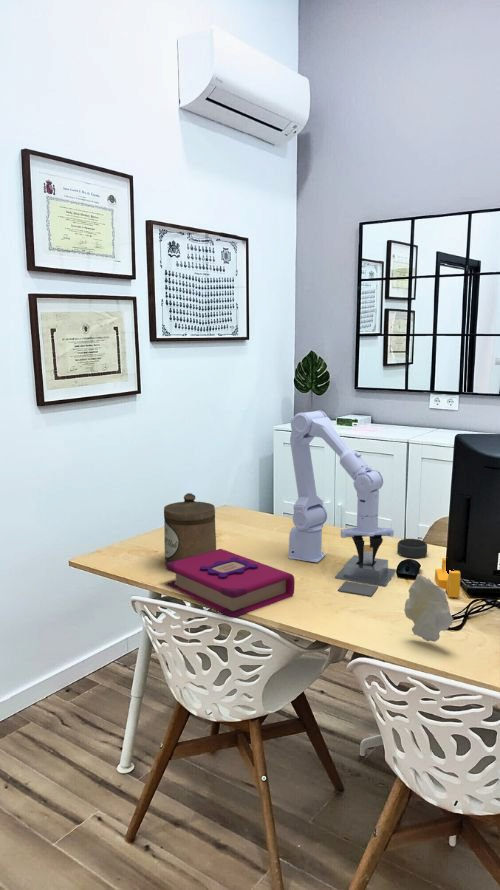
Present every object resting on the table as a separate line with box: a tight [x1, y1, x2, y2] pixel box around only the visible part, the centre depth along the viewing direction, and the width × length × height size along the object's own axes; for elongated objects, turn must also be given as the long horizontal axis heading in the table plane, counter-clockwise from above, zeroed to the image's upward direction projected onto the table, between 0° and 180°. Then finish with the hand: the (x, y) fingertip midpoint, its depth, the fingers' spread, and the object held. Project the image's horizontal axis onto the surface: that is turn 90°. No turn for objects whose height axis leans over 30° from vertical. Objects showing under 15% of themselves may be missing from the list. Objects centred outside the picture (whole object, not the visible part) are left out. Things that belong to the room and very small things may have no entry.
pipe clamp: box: [434, 557, 461, 598], centre depth 172 cm, size 12×4×6 cm, turn 173°
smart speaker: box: [397, 538, 428, 559], centre depth 200 cm, size 9×9×4 cm
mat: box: [337, 580, 379, 598], centre depth 171 cm, size 9×7×1 cm
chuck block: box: [334, 554, 397, 587], centre depth 182 cm, size 14×13×4 cm
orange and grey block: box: [361, 544, 373, 567], centre depth 181 cm, size 3×3×8 cm
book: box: [165, 548, 296, 618], centre depth 169 cm, size 21×28×8 cm
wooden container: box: [163, 492, 217, 567], centre depth 186 cm, size 15×15×22 cm
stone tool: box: [403, 573, 454, 643], centre depth 141 cm, size 11×4×15 cm, turn 51°
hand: (366, 561), depth 181 cm, fingers closed on orange and grey block, 2 cm apart
